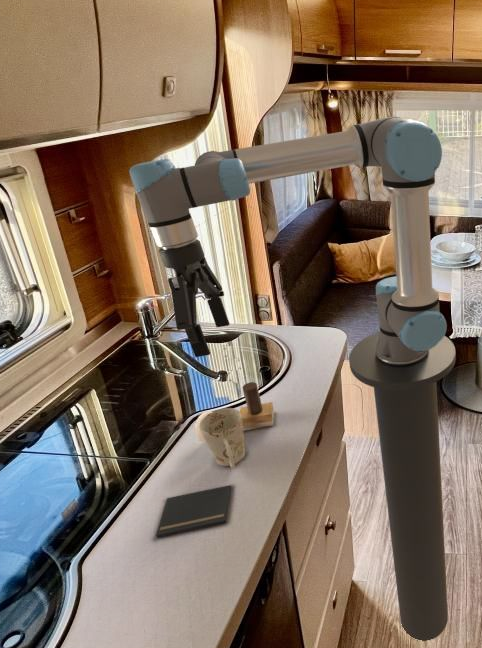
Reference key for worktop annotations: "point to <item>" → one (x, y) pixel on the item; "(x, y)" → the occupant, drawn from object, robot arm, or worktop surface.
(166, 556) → the worktop surface
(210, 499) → the counter mat
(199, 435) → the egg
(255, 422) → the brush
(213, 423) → the mug
